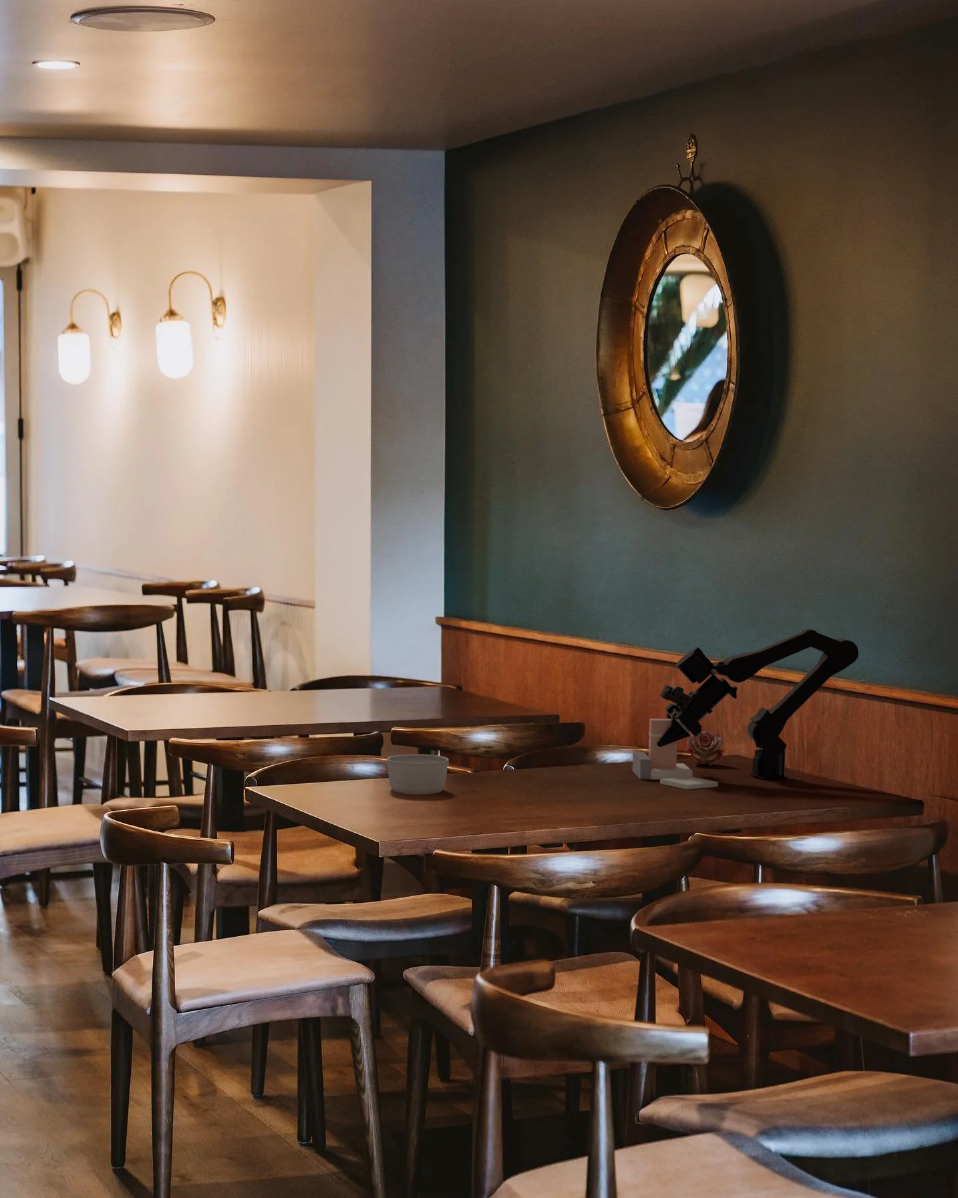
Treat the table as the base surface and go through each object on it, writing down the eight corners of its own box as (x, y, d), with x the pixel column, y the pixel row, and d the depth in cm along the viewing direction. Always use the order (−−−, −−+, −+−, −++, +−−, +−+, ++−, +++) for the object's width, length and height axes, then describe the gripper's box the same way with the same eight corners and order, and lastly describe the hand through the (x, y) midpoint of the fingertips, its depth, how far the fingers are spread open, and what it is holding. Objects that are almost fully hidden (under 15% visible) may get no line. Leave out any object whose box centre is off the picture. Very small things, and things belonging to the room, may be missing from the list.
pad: (690, 780, 368) (690, 776, 368) (717, 786, 360) (717, 782, 360) (660, 783, 363) (660, 779, 363) (687, 789, 355) (687, 785, 355)
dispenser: (683, 772, 381) (683, 752, 381) (692, 780, 369) (692, 760, 369) (632, 771, 380) (633, 752, 380) (639, 779, 369) (640, 759, 368)
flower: (681, 753, 400) (681, 730, 395) (717, 746, 401) (717, 722, 396) (693, 780, 393) (693, 756, 388) (729, 773, 393) (730, 749, 389)
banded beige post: (674, 774, 376) (675, 718, 376) (676, 776, 373) (677, 720, 373) (647, 774, 376) (649, 718, 376) (649, 776, 373) (651, 720, 372)
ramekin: (390, 796, 338) (391, 763, 337) (381, 786, 351) (382, 754, 350) (453, 795, 340) (454, 762, 340) (441, 785, 353) (442, 753, 353)
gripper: (675, 669, 383) (627, 714, 383) (689, 676, 365) (638, 724, 365) (707, 703, 384) (659, 748, 384) (722, 712, 365) (672, 760, 365)
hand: (656, 744), depth 374 cm, fingers closed on banded beige post, 3 cm apart
